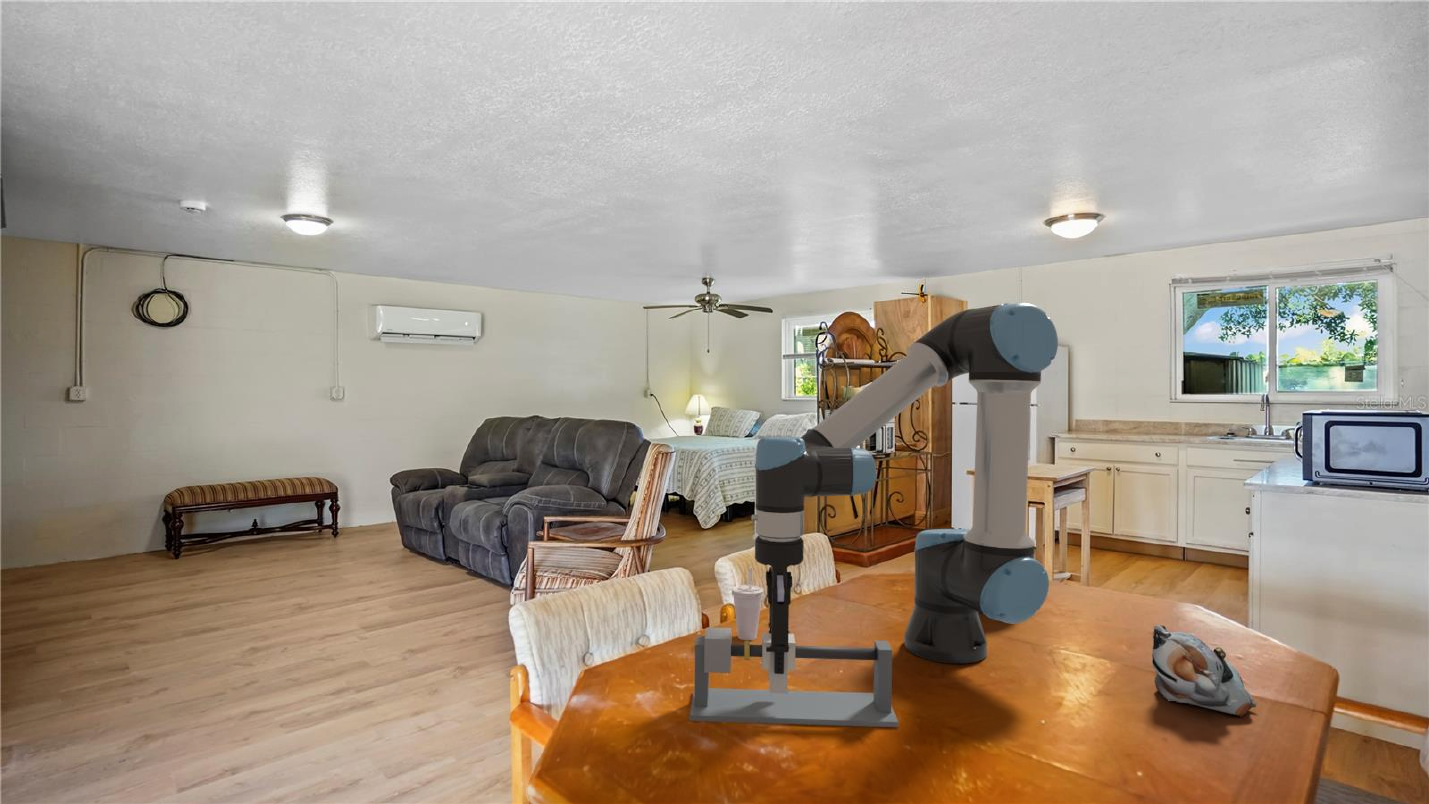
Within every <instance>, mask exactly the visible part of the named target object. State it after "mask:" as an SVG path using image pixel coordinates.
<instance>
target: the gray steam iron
mask: <svg viewBox="0 0 1429 804" xmlns="http://www.w3.org/2000/svg"><path fill="white" fill-rule="evenodd" d="M1152 639H1153V643H1152V644H1153V645H1152V655H1151V657H1152V662H1151V663H1152V667H1153V669H1154V670H1155V673H1156V675H1155V677H1154V685H1155V689H1156V690H1157V691H1158V692H1159V693H1160V694H1161V695H1163V696H1162V697H1163V698H1164V697H1165V698H1166V699H1167V700H1169V701H1168V702H1171V701H1176V702H1175V703H1182V704H1183V703H1184V704H1189V705H1193V706H1197V707H1201V708H1205V709H1209V710H1212V711H1213V710H1214V711H1218V712H1222V713H1224V714H1225V713H1226V714H1229V715H1232V714H1233V715H1232V716H1235V715H1236V716H1235V717H1239V716H1242V715H1244V714H1245V715H1246V714H1247V713H1248V712H1249V711H1250V710H1251V709H1252V708H1257V702H1256V701H1255V700H1254V699H1253V697H1252V695H1251V693H1250V692H1249V691H1248V690H1247V689H1246V688H1245V686H1244V682H1243V679H1242V676H1241V675H1240V673H1239V671H1238V670H1237V669H1236V667H1234V665H1232V664H1231V663H1230V662H1229V661H1227V660H1226V659H1225V658H1226V657H1227V653H1226V652H1225V651H1224V650H1223V648H1222V647H1220V646H1217V647H1214V649H1213V650H1212V649H1211V648H1210V647H1209V646H1208V645H1207V644H1206V643H1205V642H1203V640H1202V639H1201V638H1197V637H1196V635H1194V634H1192V633H1189V632H1184V631H1172V632H1169V631H1168V630H1167V628H1166V626H1165V625H1162V624H1157V625H1155V626H1153V632H1152ZM1165 698H1164V699H1165ZM1166 699H1165V700H1166ZM1167 700H1166V701H1167ZM1248 710H1249V711H1248ZM1247 711H1248V712H1247ZM1245 715H1244V716H1245Z"/></svg>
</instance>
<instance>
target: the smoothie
mask: <svg viewBox="0 0 1429 804" xmlns="http://www.w3.org/2000/svg"><path fill="white" fill-rule="evenodd" d="M748 572H749V573H748V581H749V582H748V584H742V585H737V586H734V587H732V588H731V595H732V596H733V604H734V605H733V606H734V612H735V613H734V614H735V622H736V629H737V638H738V639H739V640H741V641H754V640H756V639H757V636H758V630H759V629H758V628H759V623H760V622H759V620H760V614H761V613H760V612H761V608H762V607H761V606H762V600H763V599H762V597H763V596H764V588H762V587H761V586H758V585H753V567H752V566H751V567H749V568H748Z"/></svg>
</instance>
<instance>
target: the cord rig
mask: <svg viewBox="0 0 1429 804" xmlns="http://www.w3.org/2000/svg"><path fill="white" fill-rule="evenodd" d="M732 629H733V628H731V627H710V626H709V627H706V629H705V634H704V635H696V637H695V638H696V639H695V643H694V689H693V690H694V691H693V694H692V698H691V699H692V700H691V701H692V702H691V706H690V711H689V721H690V722H717V723H718V722H720V723H748V724H749V723H755V724H756V723H757V724H779V725H781V724H783V725H785V724H787V725H809V726H810V725H814V726H840V727H841V726H843V727H844V726H845V727H846V726H847V727H872V728H873V727H878V728H899V726H900V725H899V720H898V717H897V716H896V712H895V711H894V709H893V706H892V696H893V695H892V688H893V687H892V684H893V683H892V681H893V679H892V678H893V649H892V647H891V645H890V643H889V642H888V640H874V642H873V644H874V646H873V647H856V646H854V647H852V646H849V647H848V646H821V645H820V646H815V645H811V646H810V645H795V659H815V660H816V659H817V660H818V659H819V660H823V659H824V660H848V661H849V660H856V661H857V660H858V661H873V692H850V691H849V692H845V691H819V690H818V691H815V690H812V691H811V690H810V691H809V690H787V694H781V693H770V692H769V689H744V688H714V687H710V674H712V673H713V674H731V671H732V670H731V669H732V668H731V667H732V657H744V658H743V659H744V661H750V660H751V659H750V658H762V644H750V643H751V640H744V644H740V643H738V644H737V643H736V644H734V643H732V635H733V633H732Z"/></svg>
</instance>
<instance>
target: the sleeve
mask: <svg viewBox="0 0 1429 804" xmlns="http://www.w3.org/2000/svg"><path fill="white" fill-rule="evenodd" d="M761 645H762V657H761V670H762V671H763V670H766V671H769V670H770V652H766V647H770V646H771V633H769V632H762V633H761ZM788 646H789V652H788V671H796V658H795V646H796V639H795V634H794V633H790V634H788Z"/></svg>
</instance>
